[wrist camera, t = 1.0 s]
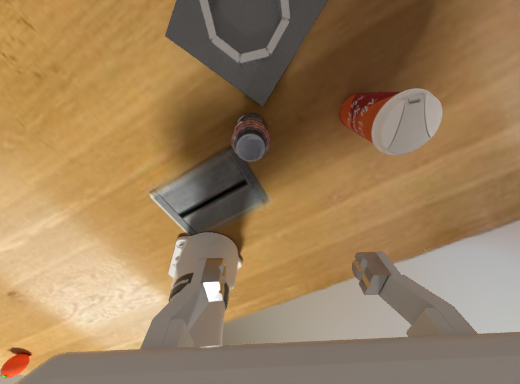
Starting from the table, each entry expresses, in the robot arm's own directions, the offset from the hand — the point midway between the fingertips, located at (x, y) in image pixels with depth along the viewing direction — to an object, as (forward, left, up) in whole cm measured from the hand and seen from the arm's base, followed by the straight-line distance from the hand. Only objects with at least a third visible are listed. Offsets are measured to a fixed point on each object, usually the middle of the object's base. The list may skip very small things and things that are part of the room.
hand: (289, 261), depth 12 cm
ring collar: (+13, +12, -28) cm, 34 cm away
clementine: (-128, +34, -29) cm, 135 cm away
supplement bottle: (0, +3, -29) cm, 29 cm away
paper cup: (+13, -11, -29) cm, 33 cm away
